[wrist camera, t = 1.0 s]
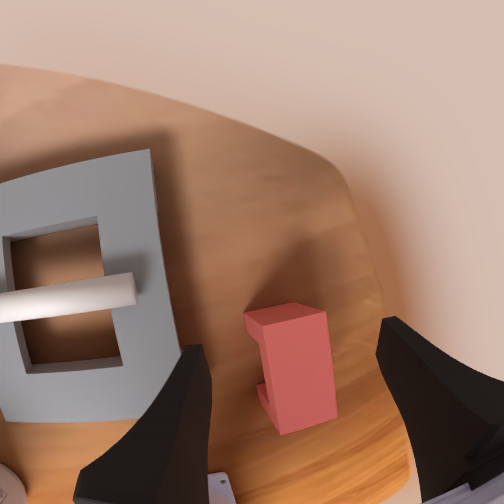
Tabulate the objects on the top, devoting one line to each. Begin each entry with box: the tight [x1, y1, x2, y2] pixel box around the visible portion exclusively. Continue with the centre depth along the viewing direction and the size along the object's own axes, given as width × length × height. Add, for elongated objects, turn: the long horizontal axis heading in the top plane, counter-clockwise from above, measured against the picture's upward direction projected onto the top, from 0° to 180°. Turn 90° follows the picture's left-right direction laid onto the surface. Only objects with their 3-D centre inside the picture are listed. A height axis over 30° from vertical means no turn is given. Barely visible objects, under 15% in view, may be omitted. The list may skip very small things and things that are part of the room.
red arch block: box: [243, 302, 338, 435], centre depth 21 cm, size 8×4×6 cm, turn 10°
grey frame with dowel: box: [0, 149, 183, 423], centre depth 18 cm, size 18×16×5 cm
